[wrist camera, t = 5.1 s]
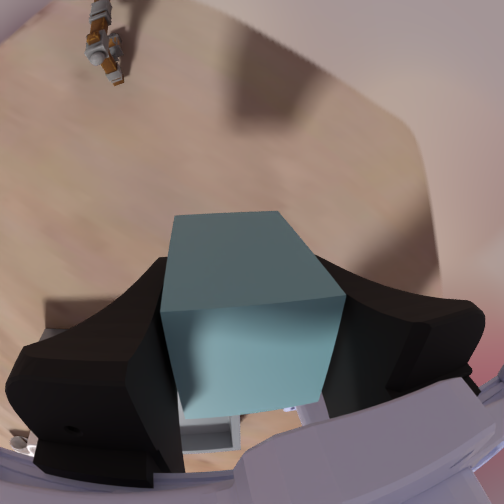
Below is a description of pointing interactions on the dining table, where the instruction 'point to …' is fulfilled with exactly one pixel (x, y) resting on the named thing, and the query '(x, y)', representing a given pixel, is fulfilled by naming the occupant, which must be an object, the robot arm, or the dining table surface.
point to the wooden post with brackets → (104, 42)
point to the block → (246, 314)
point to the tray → (198, 426)
